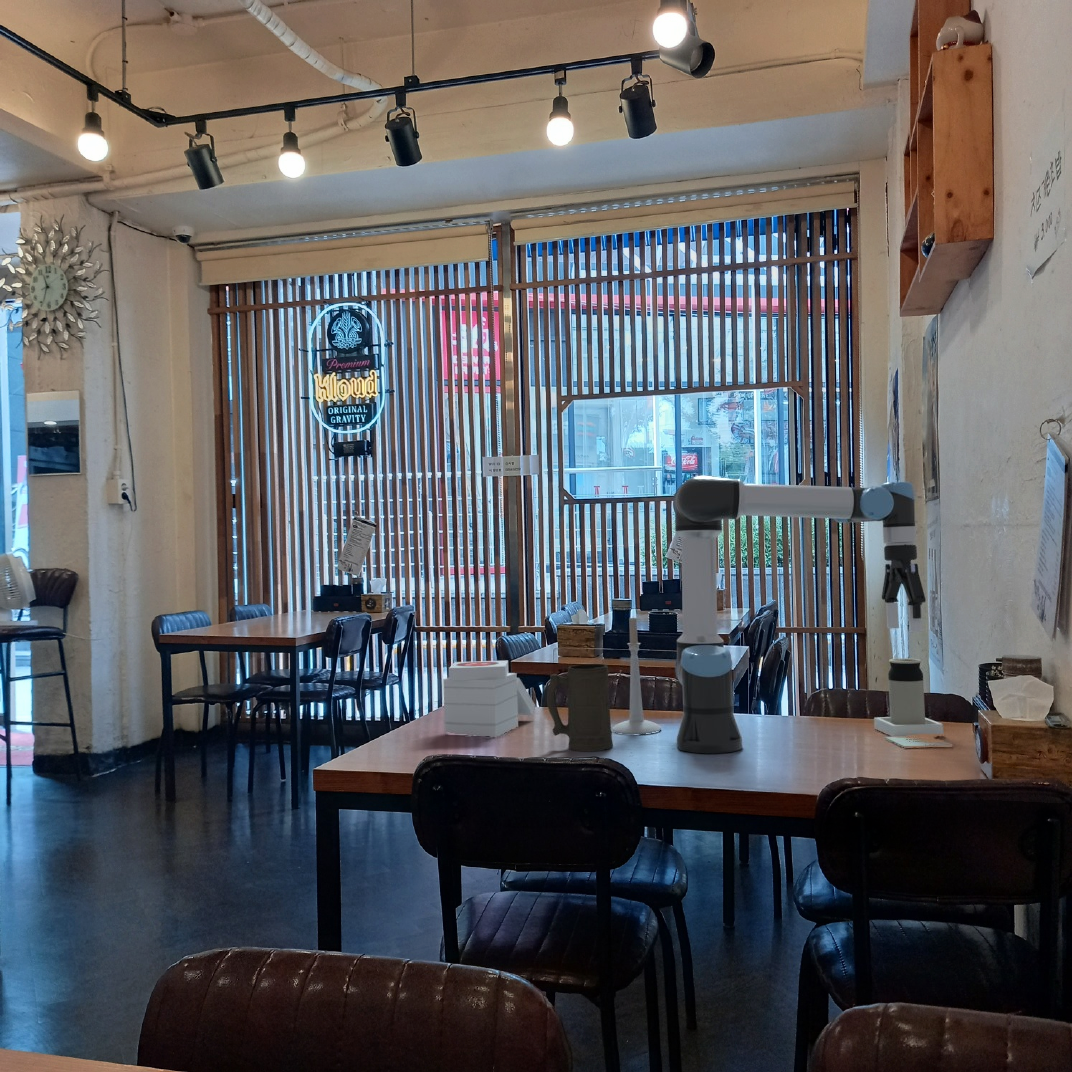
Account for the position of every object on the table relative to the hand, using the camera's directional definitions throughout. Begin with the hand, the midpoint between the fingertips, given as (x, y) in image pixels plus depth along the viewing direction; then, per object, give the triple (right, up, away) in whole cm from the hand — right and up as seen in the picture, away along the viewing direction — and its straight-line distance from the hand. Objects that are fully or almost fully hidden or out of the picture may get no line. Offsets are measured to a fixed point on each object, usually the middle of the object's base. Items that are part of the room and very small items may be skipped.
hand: (904, 630), depth 228 cm
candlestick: (-65, -28, +14) cm, 72 cm away
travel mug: (+1, -25, -1) cm, 26 cm away
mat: (-2, -25, -13) cm, 28 cm away
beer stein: (-80, -28, -6) cm, 85 cm away
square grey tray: (+1, -25, -1) cm, 25 cm away
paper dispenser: (-104, -30, +25) cm, 111 cm away
